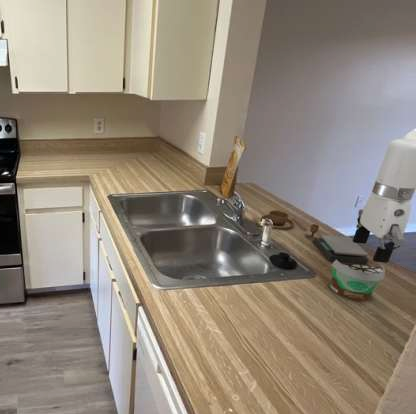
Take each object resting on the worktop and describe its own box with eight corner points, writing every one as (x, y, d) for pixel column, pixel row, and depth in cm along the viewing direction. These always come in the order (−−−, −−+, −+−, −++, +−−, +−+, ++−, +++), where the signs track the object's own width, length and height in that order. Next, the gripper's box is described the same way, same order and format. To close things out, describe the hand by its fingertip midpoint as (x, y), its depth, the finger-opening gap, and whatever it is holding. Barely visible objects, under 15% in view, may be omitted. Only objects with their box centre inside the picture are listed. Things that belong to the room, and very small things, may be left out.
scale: (346, 246, 119) (348, 239, 118) (366, 266, 108) (368, 258, 107) (312, 243, 121) (314, 236, 120) (328, 262, 110) (331, 255, 108)
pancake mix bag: (233, 187, 176) (242, 135, 165) (237, 200, 159) (247, 143, 148) (219, 186, 178) (227, 134, 167) (222, 199, 161) (231, 142, 150)
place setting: (291, 218, 141) (294, 205, 139) (318, 241, 123) (322, 227, 120) (249, 218, 141) (252, 205, 139) (270, 241, 123) (274, 226, 121)
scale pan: (349, 239, 118) (349, 237, 117) (368, 256, 107) (368, 254, 107) (319, 236, 119) (320, 234, 119) (335, 253, 108) (335, 251, 108)
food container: (332, 301, 92) (343, 271, 88) (324, 288, 97) (333, 259, 93) (384, 308, 89) (397, 277, 85) (372, 294, 94) (384, 264, 91)
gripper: (437, 205, 72) (407, 271, 79) (388, 180, 88) (366, 237, 94) (398, 203, 73) (371, 268, 80) (356, 178, 89) (337, 235, 96)
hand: (368, 251), depth 87 cm, fingers open, 9 cm apart
